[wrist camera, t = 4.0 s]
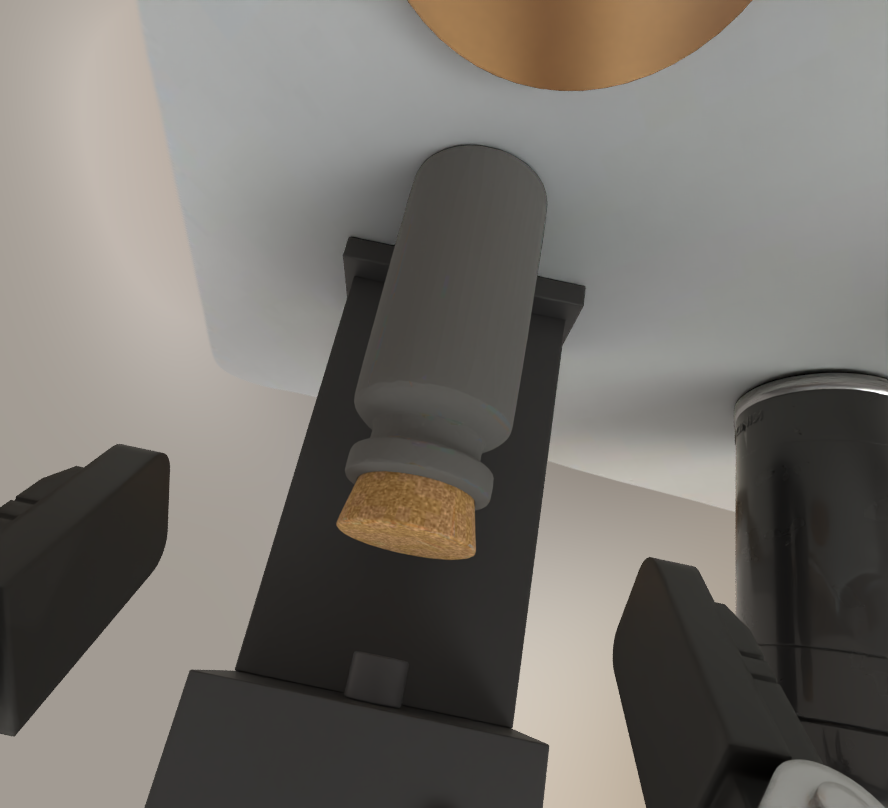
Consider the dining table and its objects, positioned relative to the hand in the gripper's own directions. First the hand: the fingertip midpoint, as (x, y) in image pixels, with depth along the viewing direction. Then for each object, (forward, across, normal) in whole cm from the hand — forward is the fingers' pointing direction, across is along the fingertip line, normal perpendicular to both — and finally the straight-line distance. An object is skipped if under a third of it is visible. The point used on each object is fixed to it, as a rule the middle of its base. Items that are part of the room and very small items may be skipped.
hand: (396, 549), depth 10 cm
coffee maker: (+23, 0, -1) cm, 24 cm away
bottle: (+20, 0, -5) cm, 20 cm away
